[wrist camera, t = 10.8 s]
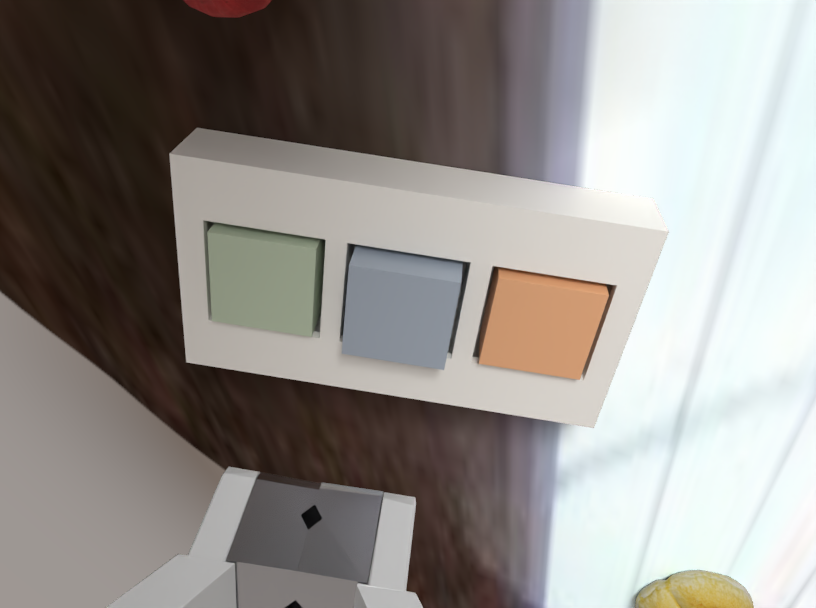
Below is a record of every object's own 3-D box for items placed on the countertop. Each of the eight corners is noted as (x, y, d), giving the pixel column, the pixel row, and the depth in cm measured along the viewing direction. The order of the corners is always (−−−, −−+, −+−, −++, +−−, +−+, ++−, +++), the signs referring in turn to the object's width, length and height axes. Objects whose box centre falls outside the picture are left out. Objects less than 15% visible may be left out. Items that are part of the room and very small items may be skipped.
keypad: (197, 127, 38) (169, 153, 35) (653, 198, 38) (668, 231, 35) (208, 325, 46) (186, 362, 43) (586, 386, 46) (593, 428, 43)
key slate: (358, 238, 38) (348, 265, 36) (463, 255, 38) (461, 282, 36) (350, 323, 42) (341, 353, 39) (446, 339, 42) (444, 370, 39)
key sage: (225, 208, 39) (207, 232, 37) (327, 224, 39) (316, 249, 37) (228, 293, 43) (211, 321, 40) (322, 308, 43) (311, 336, 40)
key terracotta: (498, 251, 39) (498, 278, 37) (601, 267, 39) (609, 295, 37) (479, 333, 43) (478, 363, 40) (574, 348, 42) (579, 379, 40)
